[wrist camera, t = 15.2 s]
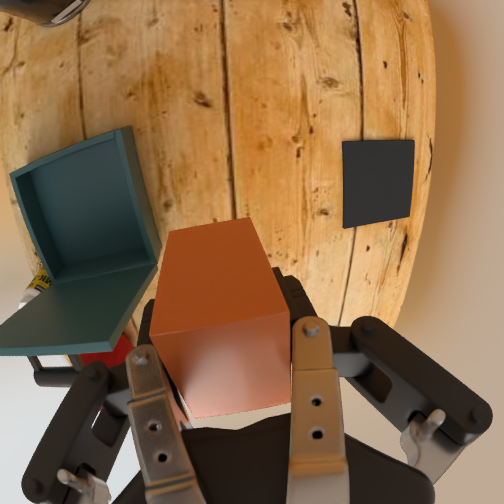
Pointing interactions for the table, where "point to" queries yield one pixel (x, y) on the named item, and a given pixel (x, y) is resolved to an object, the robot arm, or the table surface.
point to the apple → (110, 354)
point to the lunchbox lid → (74, 321)
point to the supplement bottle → (35, 287)
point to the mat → (377, 181)
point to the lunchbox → (88, 208)
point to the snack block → (222, 320)
